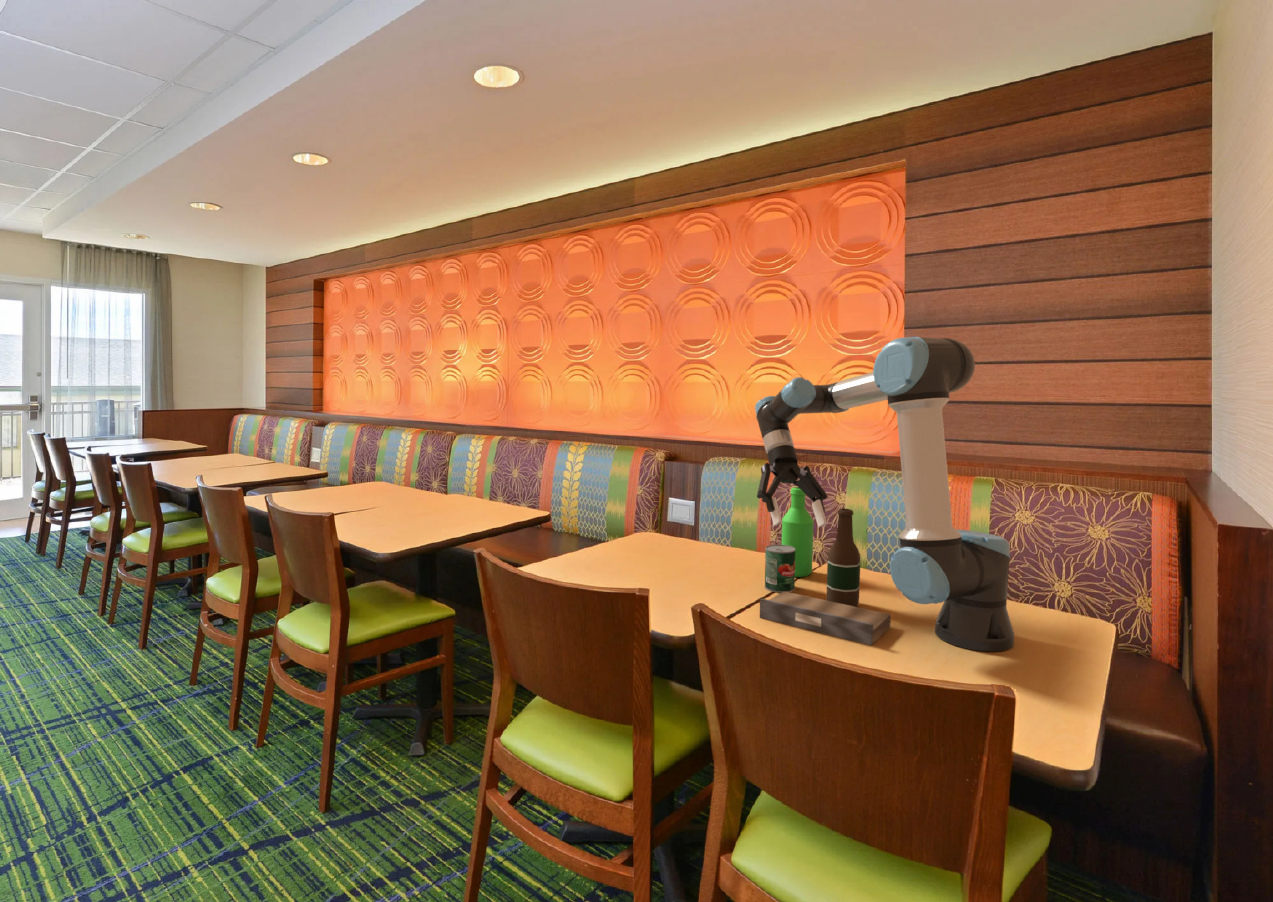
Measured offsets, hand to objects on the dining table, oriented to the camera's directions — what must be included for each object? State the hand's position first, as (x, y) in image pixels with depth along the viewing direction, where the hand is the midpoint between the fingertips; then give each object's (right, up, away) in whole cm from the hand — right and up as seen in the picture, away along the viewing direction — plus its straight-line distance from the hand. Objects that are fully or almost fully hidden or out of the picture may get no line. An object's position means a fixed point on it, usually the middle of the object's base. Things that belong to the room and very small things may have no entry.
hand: (800, 524), depth 161 cm
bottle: (+5, -17, +25) cm, 31 cm away
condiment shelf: (+2, -21, -12) cm, 25 cm away
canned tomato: (-3, -19, +12) cm, 22 cm away
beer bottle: (+10, -20, -1) cm, 22 cm away
